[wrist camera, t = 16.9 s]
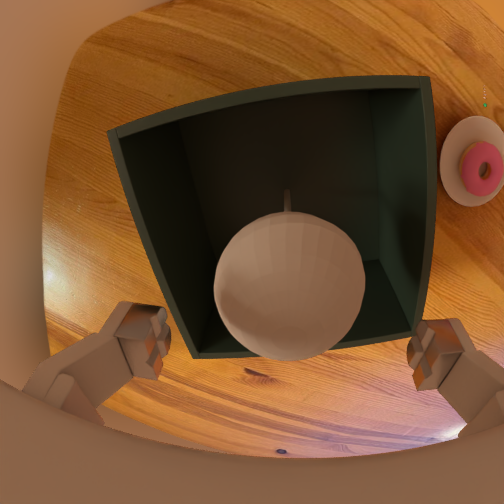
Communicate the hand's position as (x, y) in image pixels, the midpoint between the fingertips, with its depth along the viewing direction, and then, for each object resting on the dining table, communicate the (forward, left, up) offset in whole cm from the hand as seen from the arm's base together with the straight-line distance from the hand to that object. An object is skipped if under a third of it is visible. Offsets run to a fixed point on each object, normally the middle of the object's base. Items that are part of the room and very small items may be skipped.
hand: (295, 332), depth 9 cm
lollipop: (0, 0, -15) cm, 15 cm away
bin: (0, 0, -16) cm, 16 cm away
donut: (+11, +13, -16) cm, 23 cm away
